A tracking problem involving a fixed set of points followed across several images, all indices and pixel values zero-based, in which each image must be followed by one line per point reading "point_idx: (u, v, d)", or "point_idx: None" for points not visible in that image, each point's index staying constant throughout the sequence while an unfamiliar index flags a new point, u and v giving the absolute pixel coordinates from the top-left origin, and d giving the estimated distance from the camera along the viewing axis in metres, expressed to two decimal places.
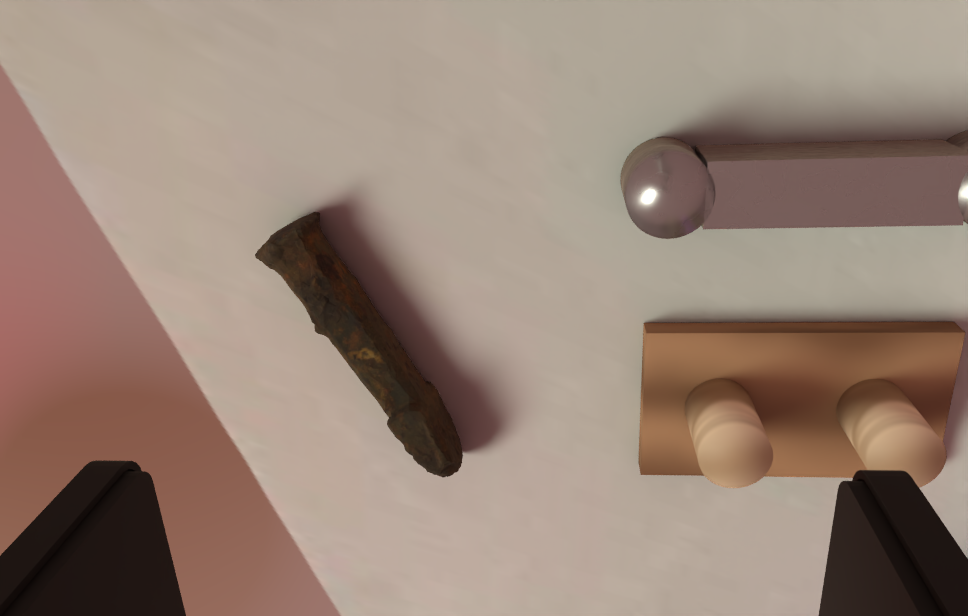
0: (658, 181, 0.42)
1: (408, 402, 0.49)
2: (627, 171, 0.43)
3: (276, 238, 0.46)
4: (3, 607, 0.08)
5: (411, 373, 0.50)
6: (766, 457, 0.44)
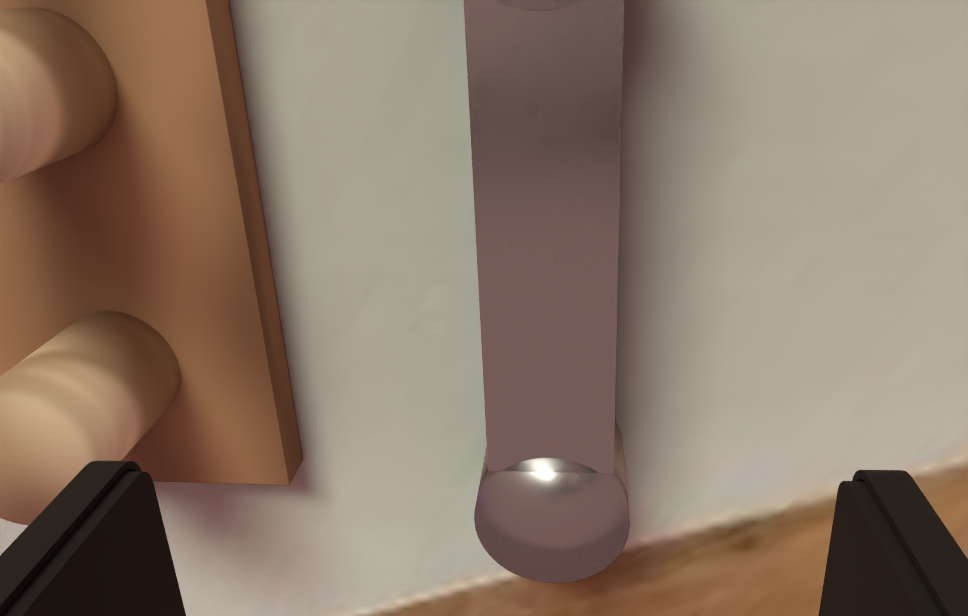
0: None
1: None
2: None
3: None
4: (3, 607, 0.08)
5: None
6: None
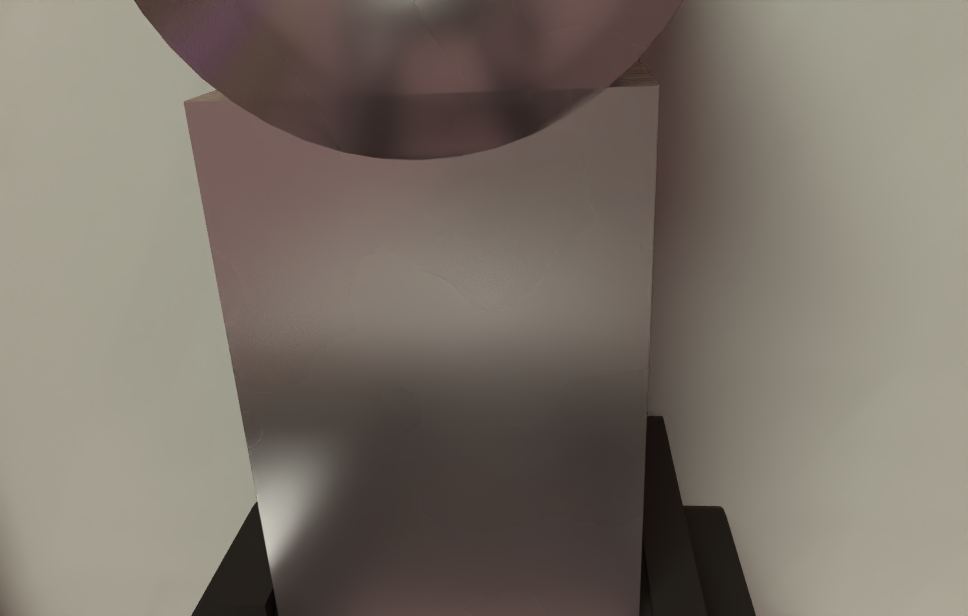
0: None
1: None
2: None
3: None
4: None
5: None
6: None
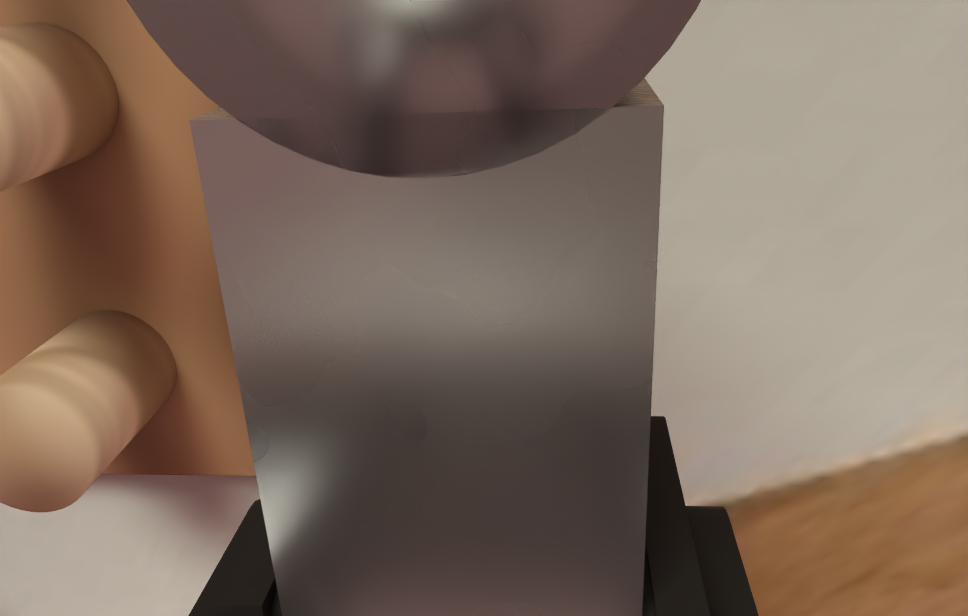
0: None
1: None
2: None
3: None
4: None
5: None
6: None
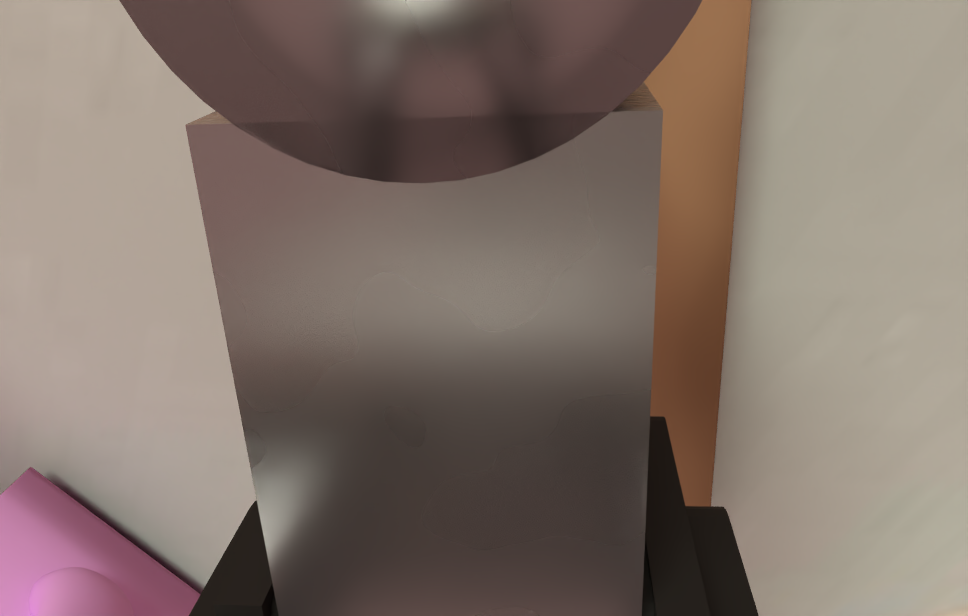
0: None
1: None
2: None
3: None
4: None
5: None
6: None
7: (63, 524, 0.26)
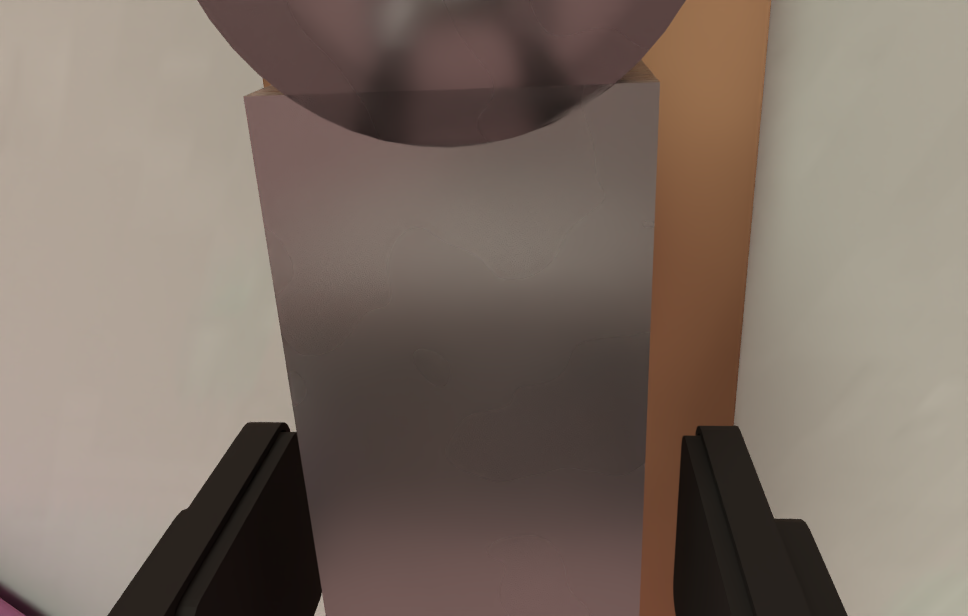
0: None
1: None
2: None
3: None
4: (209, 545, 0.09)
5: None
6: None
7: None
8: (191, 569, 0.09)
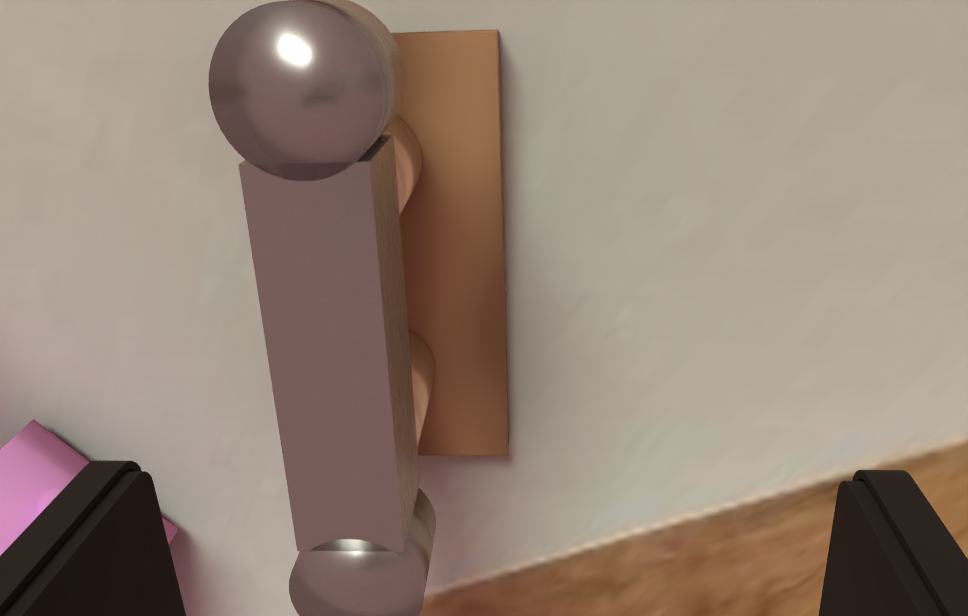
0: (324, 69, 0.21)
1: None
2: (337, 5, 0.22)
3: None
4: (3, 607, 0.08)
5: None
6: None
7: (57, 459, 0.37)
8: None
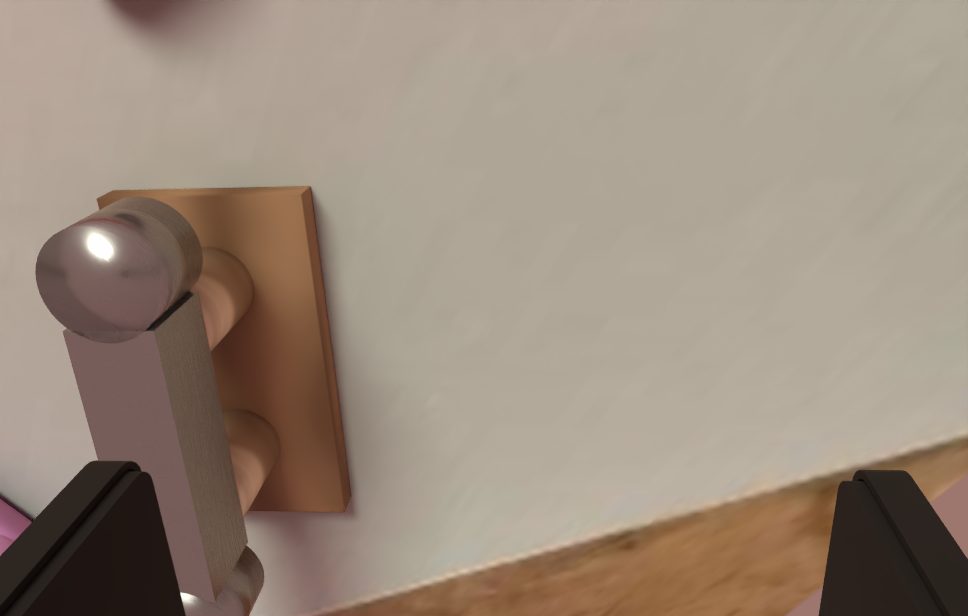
0: (114, 270, 0.29)
1: None
2: (132, 217, 0.30)
3: None
4: (3, 607, 0.08)
5: None
6: None
7: None
8: None
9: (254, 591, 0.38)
